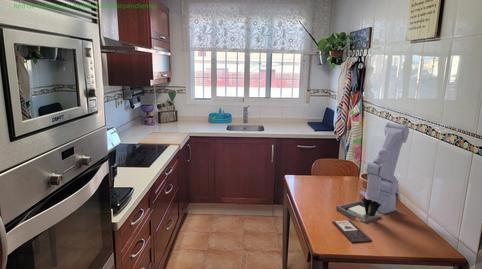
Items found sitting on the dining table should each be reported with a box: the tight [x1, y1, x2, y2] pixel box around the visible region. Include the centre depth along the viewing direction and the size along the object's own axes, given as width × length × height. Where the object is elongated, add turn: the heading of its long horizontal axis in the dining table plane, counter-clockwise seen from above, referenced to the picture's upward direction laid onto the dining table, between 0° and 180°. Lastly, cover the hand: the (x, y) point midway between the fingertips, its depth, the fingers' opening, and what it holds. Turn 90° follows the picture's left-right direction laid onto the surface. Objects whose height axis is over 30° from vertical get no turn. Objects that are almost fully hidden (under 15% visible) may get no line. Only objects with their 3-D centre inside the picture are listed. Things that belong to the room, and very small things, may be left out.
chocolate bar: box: [331, 219, 373, 244], centre depth 144 cm, size 9×1×18 cm
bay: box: [335, 200, 379, 221], centre depth 164 cm, size 17×12×2 cm
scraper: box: [358, 204, 382, 223], centre depth 156 cm, size 12×3×7 cm, turn 123°
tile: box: [347, 205, 366, 219], centre depth 161 cm, size 8×8×2 cm
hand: (370, 214), depth 157 cm, fingers closed on scraper, 2 cm apart
